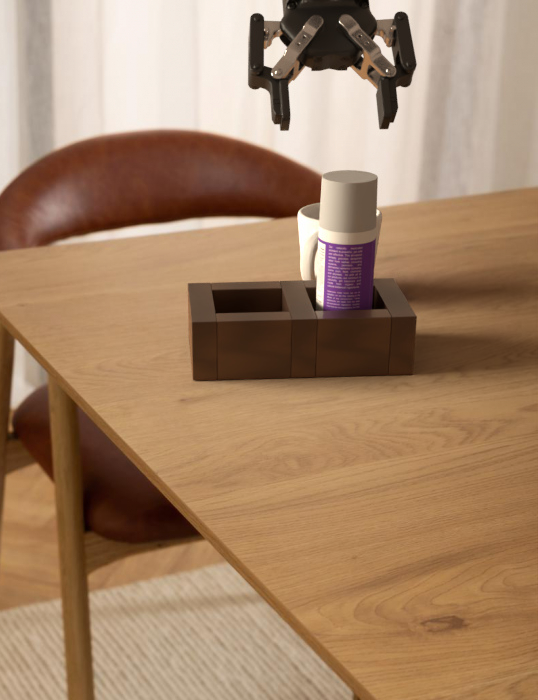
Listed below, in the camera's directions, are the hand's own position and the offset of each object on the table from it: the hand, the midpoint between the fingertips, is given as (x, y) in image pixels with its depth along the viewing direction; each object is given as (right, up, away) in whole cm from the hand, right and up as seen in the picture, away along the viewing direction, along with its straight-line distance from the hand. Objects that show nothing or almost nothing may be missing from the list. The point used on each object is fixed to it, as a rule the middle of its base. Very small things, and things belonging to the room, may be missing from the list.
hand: (335, 124), depth 100 cm
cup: (+1, -12, +14) cm, 19 cm away
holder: (-3, -19, +1) cm, 20 cm away
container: (+1, -19, +1) cm, 19 cm away
